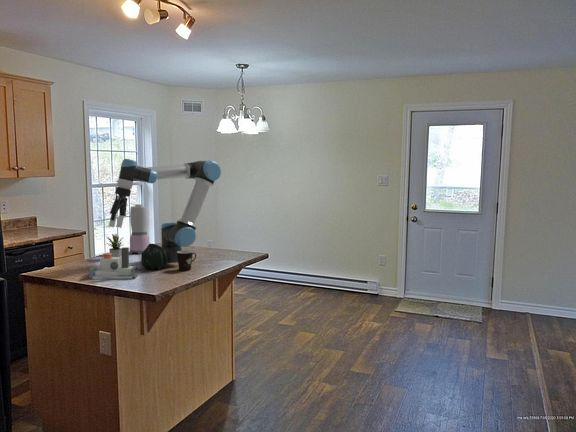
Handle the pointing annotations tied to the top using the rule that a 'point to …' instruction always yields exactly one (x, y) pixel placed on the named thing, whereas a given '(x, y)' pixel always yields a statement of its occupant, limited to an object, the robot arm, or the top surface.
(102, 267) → the gauge cabinet
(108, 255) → the button
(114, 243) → the house plant
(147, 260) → the squash
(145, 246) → the blender
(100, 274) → the rail base
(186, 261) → the coffee mug
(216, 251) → the top surface
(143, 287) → the top surface
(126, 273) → the carriage
